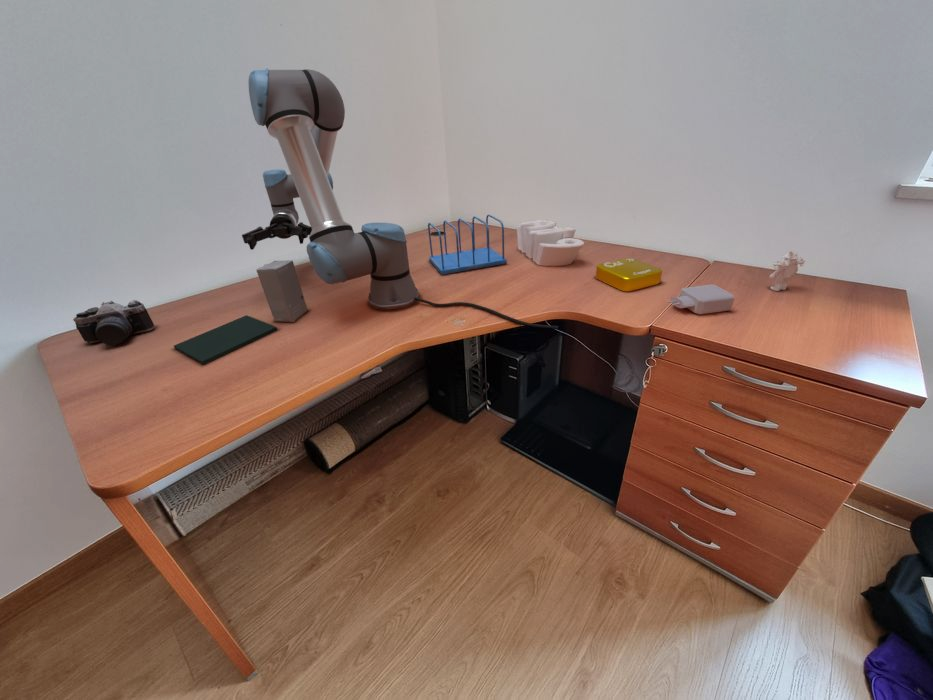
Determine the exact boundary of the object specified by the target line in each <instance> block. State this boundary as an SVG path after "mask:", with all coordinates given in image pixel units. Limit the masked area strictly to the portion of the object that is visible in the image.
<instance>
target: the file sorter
mask: <svg viewBox="0 0 933 700" xmlns="http://www.w3.org/2000/svg"><path fill="white" fill-rule="evenodd" d="M489 218H492V219H493V220H495V221H497V222H499V223H500V225H501V237H502V238H501V243H502V246H501V247H502V248H501V249H502V250H501V251H502V252H501V253H502V254H500V253H499V252H497V251H496V250H495V249H493V248H492V247H490V228H489ZM475 219H476V220H477V221H479V222H480V223H482V224H484V225H485V229H486V247H480V248H476V243H475ZM460 222H462V223H464V224H465V225H466V226H468V227H469V229H470V232H471V247H472V248H471V249H468V250H462V241H461V240H462V239H461V228H460V227H461V225H460ZM442 223H443V226H442V227H443V237H444V250H445V253H444V251H443V241H442V234H441V231H440V229H439V228H437V227H436V226H435V225H434V224H433V223H432V222H428V223H427V231H428V240H429V247H430V256H429V257H428V258H429V263H431V264H432V265H433V266H434V268H435V269H436V270H437V271H438V272H439V274H441V275H447V274H449V275H450V274H453V273H454V274H455V273H459V272H464V271H472V270H477V269H482V268H487V267H493V266H498V265H505V264H507V263H508V261H507V258H506V257H505V227H504V223H503V221H502V219H501V220H500V219H499V218H497V217H495V216H494V215H491V214H487V215H486V217H485V221H484V220H483V219H481V218H479V217H477V216H473V217H472V221H471V223H472V225H471V224H470V223H469V222H467V221H466V220H464V219H463V218H458V219H457V228H456V226H455V225H453V224H452V223H450V222H449V221H448V220H443V222H442ZM446 224H447V225H448V226H449V227H451V228H452V229H453V230H454V233H455V240H456V251H455V252H449V253H448V248H447V247H448V245H447V236H446ZM431 227H432V228H433V229H434V230H435V231H437V234H438V237H439V246H440V248H439V249H440V254H437V255H434V253H433V252H434V251H433V245H432V237H431V236H432V235H431Z"/></svg>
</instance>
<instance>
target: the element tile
mask: <svg viewBox="0 0 933 700" xmlns="http://www.w3.org/2000/svg"><path fill="white" fill-rule="evenodd" d="M662 275H663V269H662V268H660V267H657V266H654V265H651V264H648V263H646V262H643V261H641V260H638V259H636V258H633V257H626V258H621V259H617V260H612V261H607V262H602V263H599V264H597V265H596V270H595V279H596V280H599V281H600V282H603V283H605V284H606V285H609V286H610V287H612V288H615V289H617V290H619V291H622V292H627V293H628V292H633V291H637V290H640V289H644V288H648V287H652V286H656V285H659V284H660V283H661V280H662Z"/></svg>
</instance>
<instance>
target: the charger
mask: <svg viewBox="0 0 933 700" xmlns="http://www.w3.org/2000/svg"><path fill="white" fill-rule="evenodd" d="M734 301H735V295H734V294H733V293H731V292H730V291H727V290H725V289H723V288H721V287H720V286H718V285H716V284H714V283H711V284H705V285H696V286H689V287H682V288H681V290H680V293H679V296H674V297H673V296H672V297H670V300H668V301H667V303H672V304H671V305H672V306H675V307H676V308H678V309H685V308H686V309H688V310H689V311H691V312H693V313H695V314H697V315H705V314H713V313H720V312H727V311H731V310H732V308H733V305H734Z"/></svg>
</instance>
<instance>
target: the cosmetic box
mask: <svg viewBox="0 0 933 700" xmlns="http://www.w3.org/2000/svg"><path fill="white" fill-rule="evenodd" d="M294 264H295V263H294V260H290V259H289V260H273V261H271V262H269V263H266V264H263V265H262V266H260V267H258V268H256V269H255V271H256V273H257V276H258V279H259V282H260V285H261V287H262V290H263V292H264V296H265V298H266V301H267V304H268V307H269V310H270V313H271V315H272V318H273V320H274V322H288V323H294V322H296V321H297V320H298V319H299V318H300V317H301V316H303V315H304V314H305V313H306V312H308V311H309V310H308V306H307V303H306V300H305V296H304V293H303V291H302V287H301V284H300V280H299V277H298V274H297V271H296V267H295V265H294Z"/></svg>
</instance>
